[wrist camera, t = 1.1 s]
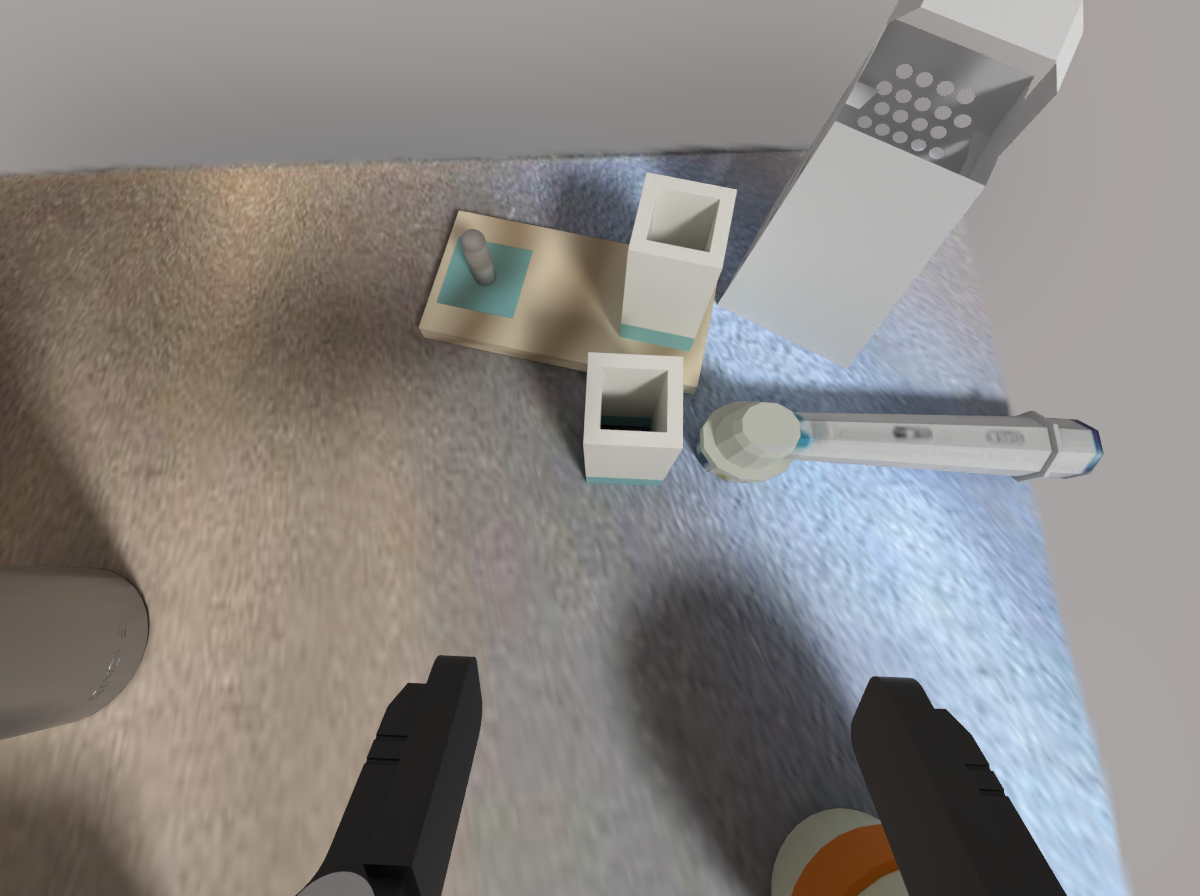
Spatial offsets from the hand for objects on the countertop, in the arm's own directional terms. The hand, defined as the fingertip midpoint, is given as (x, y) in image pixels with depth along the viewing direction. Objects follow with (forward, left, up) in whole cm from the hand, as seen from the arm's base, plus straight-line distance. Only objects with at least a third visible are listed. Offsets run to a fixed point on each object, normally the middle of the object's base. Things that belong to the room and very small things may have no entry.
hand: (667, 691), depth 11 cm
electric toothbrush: (+15, +15, -24) cm, 32 cm away
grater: (+9, +27, -24) cm, 38 cm away
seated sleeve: (-2, +21, -22) cm, 31 cm away
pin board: (-8, +21, -24) cm, 33 cm away
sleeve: (-2, +11, -24) cm, 27 cm away
